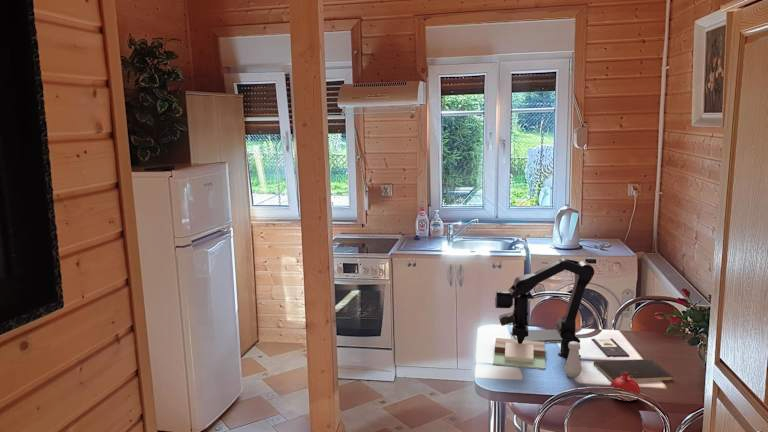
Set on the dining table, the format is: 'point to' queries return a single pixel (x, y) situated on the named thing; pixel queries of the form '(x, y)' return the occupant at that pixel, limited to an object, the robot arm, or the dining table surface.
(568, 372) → the salt shaker
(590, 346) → the dining table surface
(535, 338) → the smartphone
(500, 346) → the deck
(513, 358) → the pale pink slab
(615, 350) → the chocolate bar
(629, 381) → the pomegranate
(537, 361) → the mat
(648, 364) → the hardcover book
